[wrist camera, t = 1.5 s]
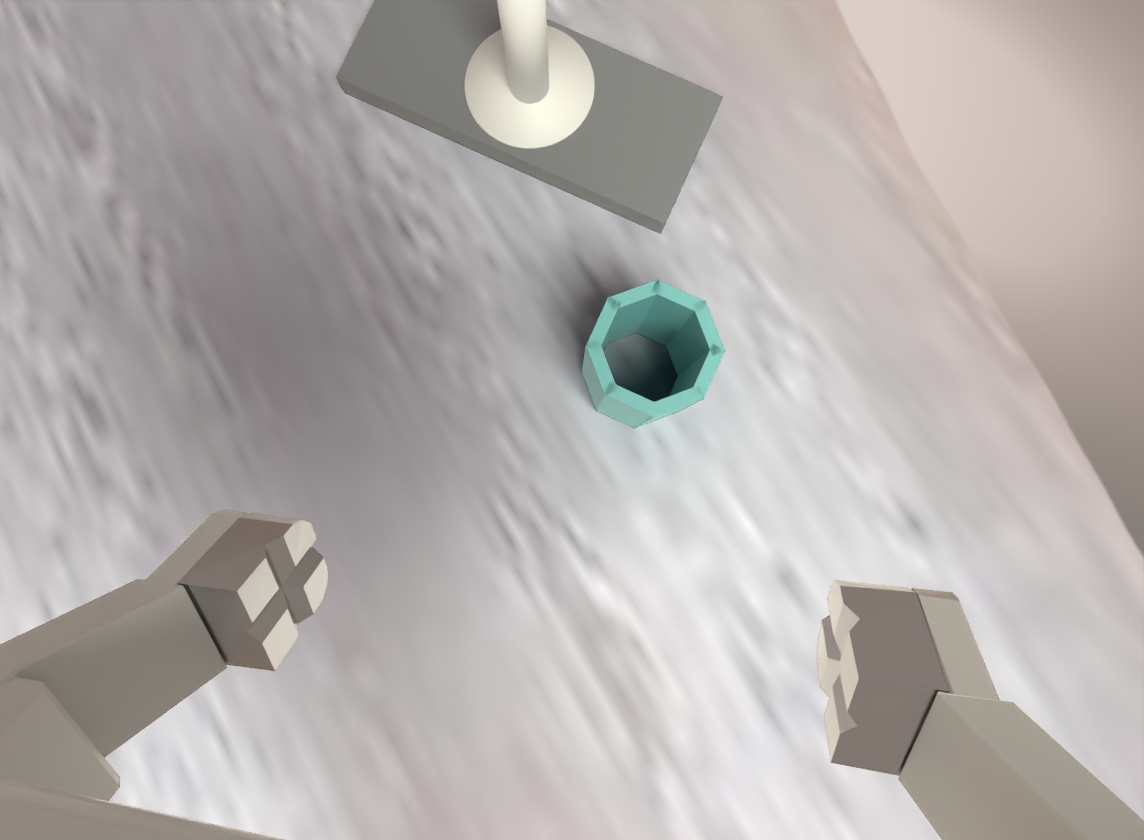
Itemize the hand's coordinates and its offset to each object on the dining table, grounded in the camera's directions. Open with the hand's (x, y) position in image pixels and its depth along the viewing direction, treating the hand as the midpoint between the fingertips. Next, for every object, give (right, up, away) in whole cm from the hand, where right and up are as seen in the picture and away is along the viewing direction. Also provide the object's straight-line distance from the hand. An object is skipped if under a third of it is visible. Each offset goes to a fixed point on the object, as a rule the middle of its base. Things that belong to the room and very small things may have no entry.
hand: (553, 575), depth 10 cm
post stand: (-2, +21, +27) cm, 34 cm away
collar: (+4, +5, +26) cm, 26 cm away
